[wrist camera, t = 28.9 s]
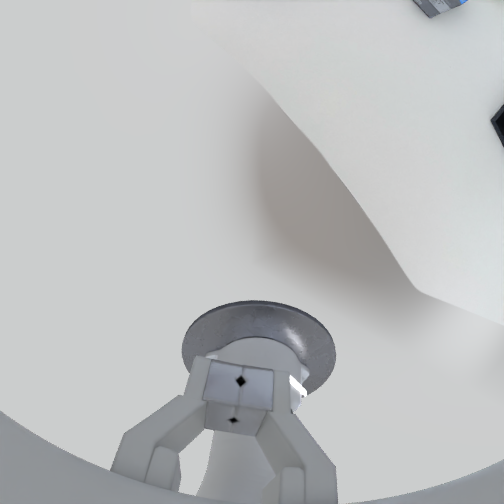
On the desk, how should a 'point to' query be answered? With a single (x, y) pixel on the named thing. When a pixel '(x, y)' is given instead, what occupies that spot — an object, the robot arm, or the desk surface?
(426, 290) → the desk surface
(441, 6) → the tape cartridge
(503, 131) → the bracket
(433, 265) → the desk surface
